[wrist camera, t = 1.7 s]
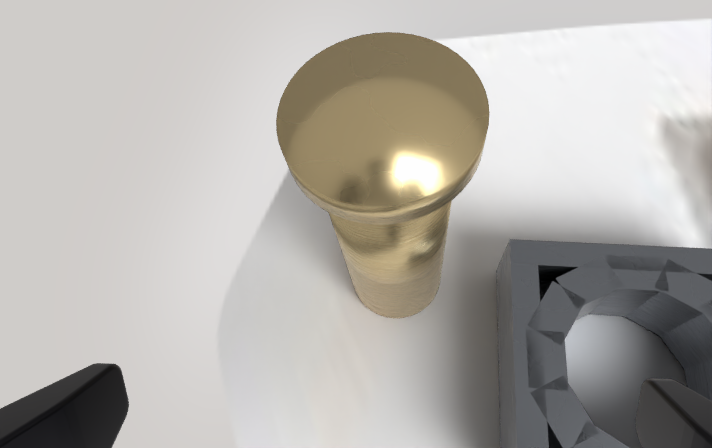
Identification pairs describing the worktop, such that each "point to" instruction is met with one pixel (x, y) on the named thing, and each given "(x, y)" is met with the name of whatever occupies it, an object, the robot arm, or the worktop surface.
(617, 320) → the worktop surface
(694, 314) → the jig
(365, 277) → the brass flanged cylinder
